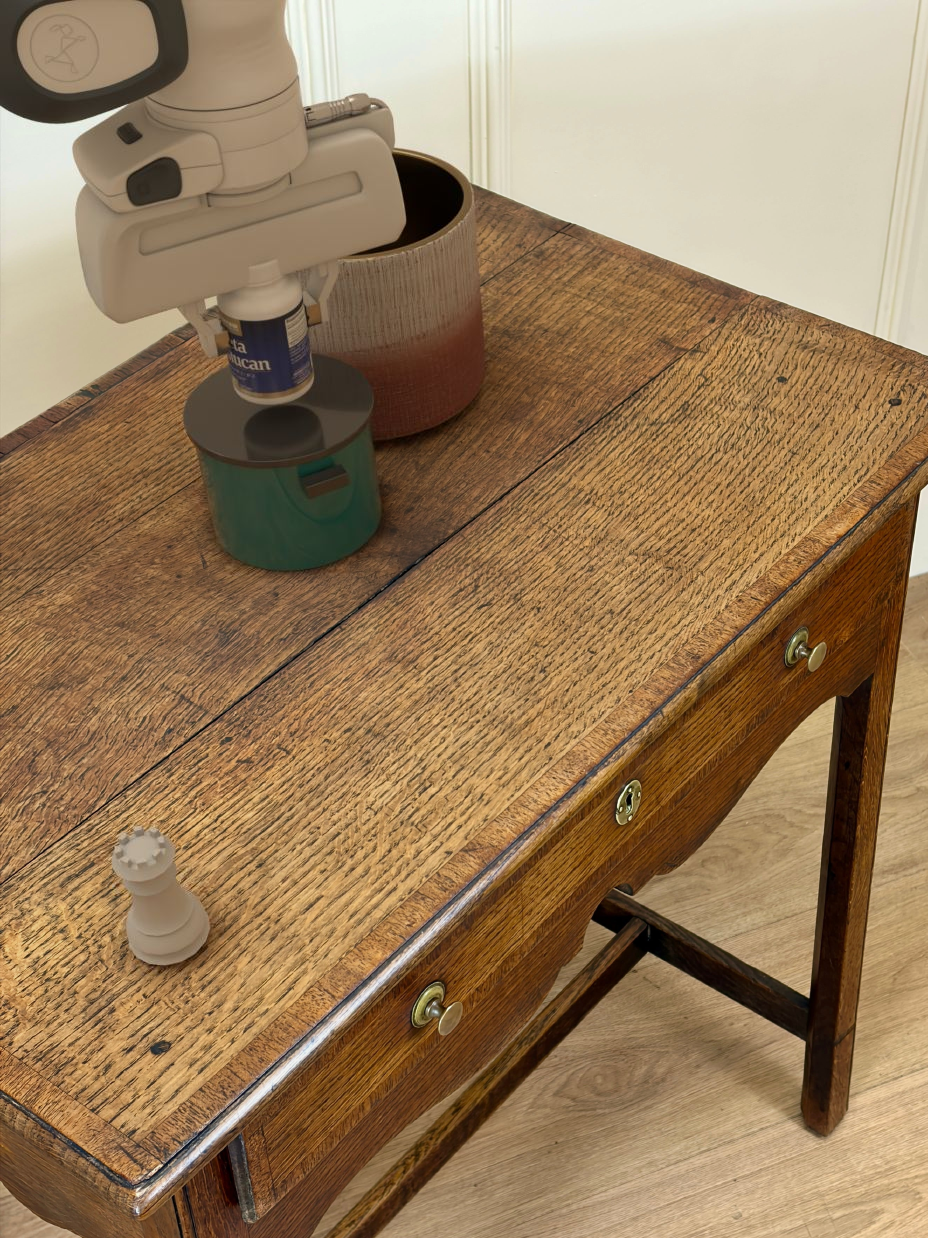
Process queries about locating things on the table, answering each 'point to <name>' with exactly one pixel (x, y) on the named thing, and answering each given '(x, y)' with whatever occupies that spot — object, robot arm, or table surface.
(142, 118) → the robot arm
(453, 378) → the planter
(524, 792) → the table surface
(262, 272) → the pill bottle
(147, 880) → the rook chess piece
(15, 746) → the table surface
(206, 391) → the pot
